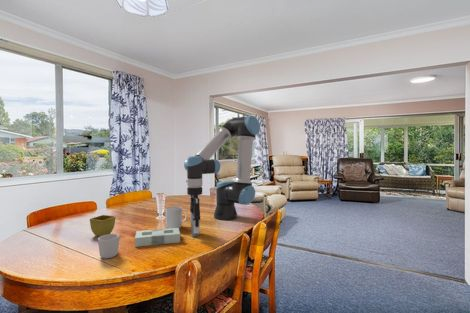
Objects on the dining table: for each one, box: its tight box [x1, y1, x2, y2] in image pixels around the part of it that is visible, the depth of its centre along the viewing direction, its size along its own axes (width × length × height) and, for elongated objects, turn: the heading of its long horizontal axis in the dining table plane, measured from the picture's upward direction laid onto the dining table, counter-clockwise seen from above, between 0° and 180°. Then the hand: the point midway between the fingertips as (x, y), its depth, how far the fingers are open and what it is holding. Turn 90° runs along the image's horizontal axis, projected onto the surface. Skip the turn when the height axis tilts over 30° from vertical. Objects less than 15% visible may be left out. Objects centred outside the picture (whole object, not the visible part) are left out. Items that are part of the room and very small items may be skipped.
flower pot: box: [89, 214, 116, 237], centre depth 130 cm, size 9×9×9 cm
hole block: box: [134, 228, 181, 248], centre depth 122 cm, size 20×10×4 cm, turn 107°
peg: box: [190, 211, 200, 238], centre depth 129 cm, size 3×3×12 cm
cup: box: [97, 233, 120, 259], centre depth 106 cm, size 11×8×8 cm
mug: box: [164, 205, 188, 229], centre depth 143 cm, size 12×9×11 cm
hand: (194, 229), depth 129 cm, fingers open, 12 cm apart
